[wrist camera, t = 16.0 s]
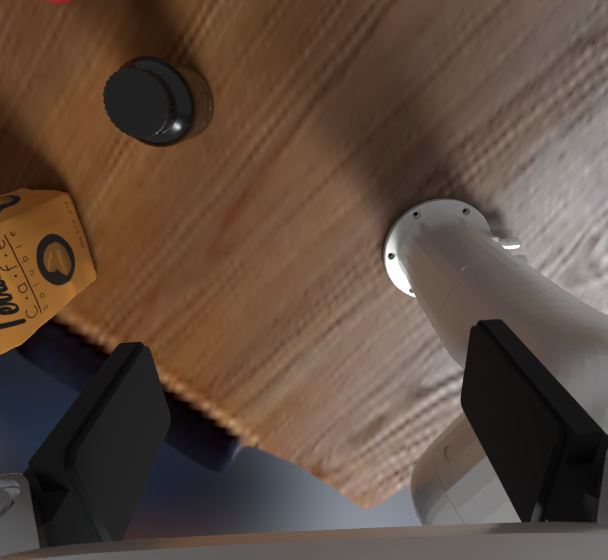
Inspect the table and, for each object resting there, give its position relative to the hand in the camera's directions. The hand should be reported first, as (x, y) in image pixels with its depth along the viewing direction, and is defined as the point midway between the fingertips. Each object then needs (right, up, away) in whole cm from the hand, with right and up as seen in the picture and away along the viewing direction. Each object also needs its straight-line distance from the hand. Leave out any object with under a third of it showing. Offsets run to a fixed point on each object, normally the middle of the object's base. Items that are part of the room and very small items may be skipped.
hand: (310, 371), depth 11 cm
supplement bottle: (-13, +21, +27) cm, 36 cm away
